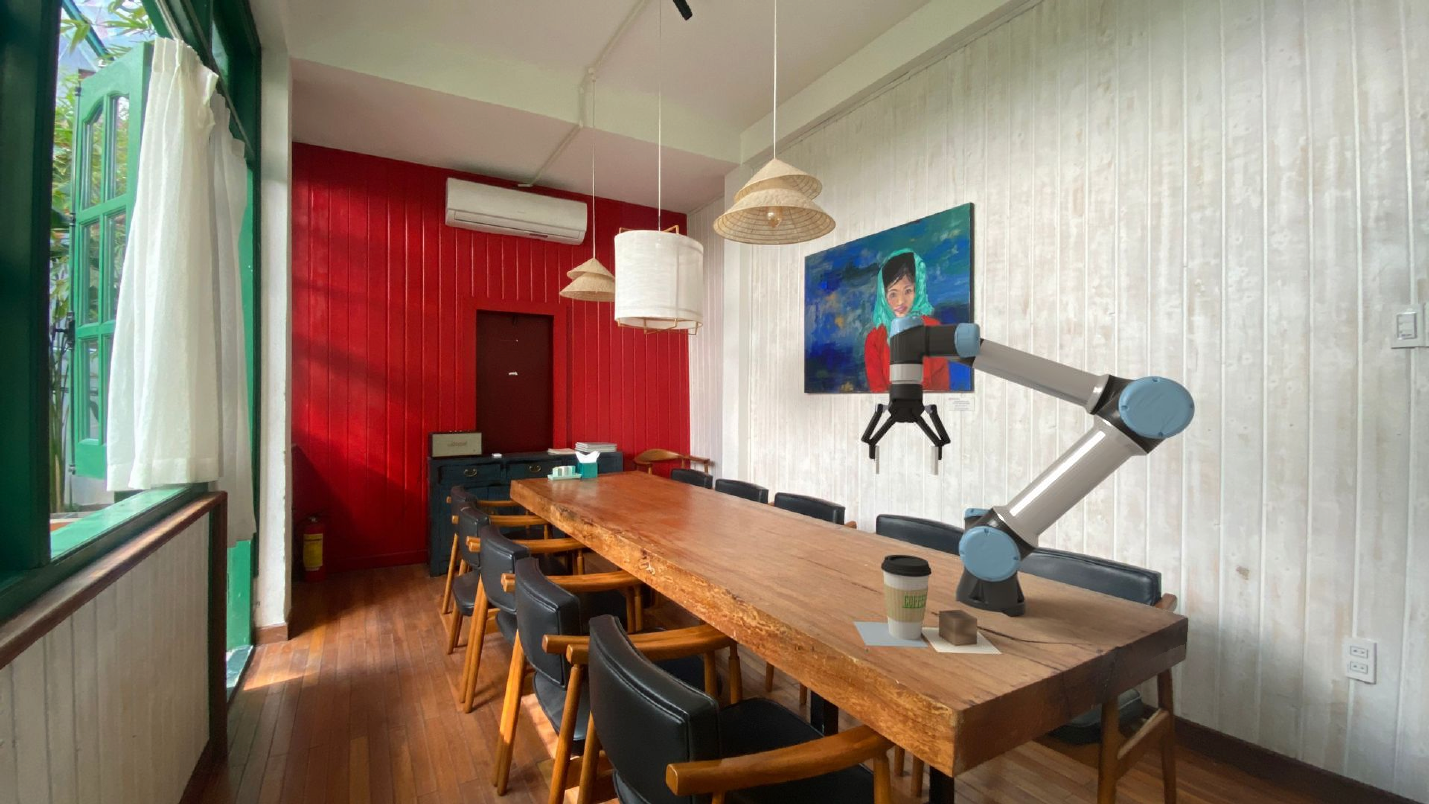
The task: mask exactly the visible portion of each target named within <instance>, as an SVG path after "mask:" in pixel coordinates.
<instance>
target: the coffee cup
mask: <svg viewBox="0 0 1429 804" xmlns="http://www.w3.org/2000/svg"><path fill="white" fill-rule="evenodd" d="M883 558H884V559H883V562H881V566H880V568H881V570H882V573H883V581H882V583H883V592H884V593H883V594H884V600H885V601H884V602H885V611H886V612H885V613H886V616H887V623H888V626H889V633H890V634H891V635H892V636H894V637H896V638H900V639H905V640H916V639H919V638H920V637H921V638H922V632H921V631H922V627H923V623H924V620H925V614H926V606H927V600H928V593H929V579H930V575H931V574H932V568H931V567H930V565H929V561H928V560H927V559H925V558H921V557H918V556H914V555H907V554H890V555H887V556H884V557H883Z"/></svg>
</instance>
